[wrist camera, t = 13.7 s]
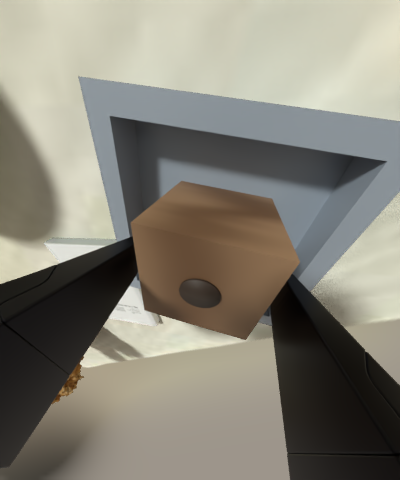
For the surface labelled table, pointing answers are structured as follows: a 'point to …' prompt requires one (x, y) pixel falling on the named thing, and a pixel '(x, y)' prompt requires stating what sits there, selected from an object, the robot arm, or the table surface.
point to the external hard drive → (132, 300)
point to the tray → (246, 162)
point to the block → (212, 257)
